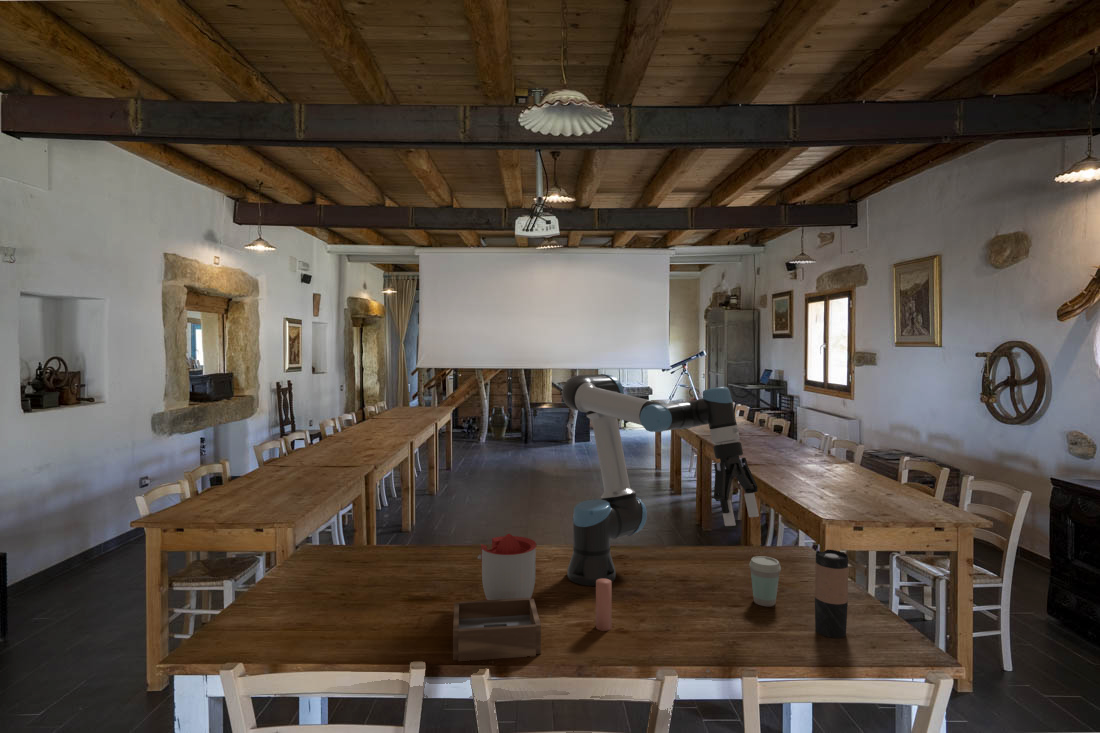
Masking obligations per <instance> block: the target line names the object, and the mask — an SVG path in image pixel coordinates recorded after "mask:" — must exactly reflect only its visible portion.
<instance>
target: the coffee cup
mask: <svg viewBox="0 0 1100 733" xmlns="http://www.w3.org/2000/svg"><path fill="white" fill-rule="evenodd" d="M748 566H749V568H750V577H751V587H752V597H753V603H755V604H756V605H759V606H762V607H774V606H775V605H776V603H777V602H776V600H777V595H778V587H779V580H780V572H781V570H782V567H781V564H780V561H779V560H778V559H776V558H774V557H770V556H764V555H763V556H761V555H760V556H759V555H757V556H752V557H751V560H750V562H749V564H748Z"/></svg>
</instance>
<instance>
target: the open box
mask: <svg viewBox="0 0 1100 733" xmlns="http://www.w3.org/2000/svg"><path fill="white" fill-rule="evenodd" d="M452 623H453V624H452V625H453V626H452V628H453V629H452V660H453V661H457V662H468V661H469V662H470V660H471V661H481V660H482V661H483V660H497V659H498V660H499V659H513V658H515V659H516V658H525V657H527V656H530V657H537V655H536V654H540V655H542V643H541V642H542V624H541V620H540V617H539V613H538V609H537V606H536V602H535V599H534V598H531V599H529V598H516V599H498V600H486V599H485V600H481V599H480V600H465V601H464V600H462V601H459V602H454V605H453V622H452ZM527 658H528V657H527Z"/></svg>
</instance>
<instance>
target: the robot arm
mask: <svg viewBox="0 0 1100 733" xmlns="http://www.w3.org/2000/svg"><path fill="white" fill-rule="evenodd" d="M731 394H732V393H731V391H730V389H729V388H728V387H727V386H717V387H713V388H708V389H705V390H703V391H702V398H698V399H695V400H690V401H680V402H667V403H663V402H659V401H658V402H657V401H653V400H650V399H647V398H646V399H645V398H641V397H638V396H633V395H628V394H625V391H624V386H623V384H622V382H621V380H620V379H618V378H617V377H616V376H614V375H612V374H604V373H601V374H580V375H579V374H578V375H575V376H572V377H570V378H569V379H568V380H567V381H566V382H565V383H564V384H563V387H562V390H561V395H562V400H563V402H564V404H565V405H566V406H567V407H568V408H570V409H571V410H575V411H578V412H581V413H585V415H586V418H588V419H590V421H591V424H592V428H593V429H592V430H593V433H594V440H595V445H596V450H597V456H598V462H599V467H600V474H601V479H602V485H603V490H604V491H603V493H602V495H601V496H600V499H599V498H595V499H587V500H583V501H581V502H579V503H577V504H576V505H575V506H574V509H573V515H572V516H573V517H572V526H573V527H572V528H573V532H572V533H573V534H572V537H573V538H572V540H573V543H572V545H573V547H572V548H573V549H572V550H573V551H572V554H571V558H570V561H569V564H568V567H567V578H568V580H569V581H571V582H573V583H575V584H577V585H581V586H591V587H596V580H597V579H602V578H604V579H609V580H611V582H612V583H613V582H614V581H615V580H616V575H617V574H616V567H615V565H614V561H613V558H612V555H611V541H612V540H617V539H619V538H623V537H626V536H627V537H628V536H629V537H630V536H632V535H635V534H637V533H639V532H641V531H642V530H643V528H644V526H646V523H647V517H648V512H647V507H646V504H645V503H644V502H643V501H642V499H640V498H639V497H637V493H636V491H635V490H634V489H633V488H631V484H630V480H629V475H628V471H627V465H626V458H625V454H624V447H623V443H622V436H621V432H620V426H619V420H622V421H626V422H628V423H632V424H636V425H638V426H639V425H640V426H642V427H643V428H644V429H645V430H646V431H648V432H651V433H654V432H655V433H662V432H665V431H673V430H686V429H691V428H696V427H700V426H705V425H708V427H709V433H710V438H711V443H712V444H714V446H713V452H714V458H715V459H717V460H720V462H714V464H713V465H714V466H713V467H714V490H713V491H714V492H713V499H714V500H715V501H716V502H719V503H720V507H721V512H722V516H723V523H724V526H725V527H732V526H736V524H737V523H736V519H735V515H734V514H735V513H734V508H733V506H732V500H731V499H729V498H730V492H731V487H732V481H733V479H736V480H737V482H738V483H739V485H740V486H741V488H742V489H743V491H744V492H745V493H743V494H744V495H743V496H744V500H745V505H746V509H747V514H748V518H757V517H759V516H760V514H759V509H758V504H757V498H756V496H755V495H756V494H755V493H758V491H759V490H758V484H757V482H756V480H755V477H754V476H753V474H752V472H751V469H750V467H749V466H748V462H747V458H746V457H740V456H743V454H744V451H743V450H744V449H743V445H742V442H740V441H739V440H740V439H741V438H740V434H739V432H740V429H739V428H738V422H737V419H736V414H735V407H734V403H733V402H734V400H733V398H732V395H731Z"/></svg>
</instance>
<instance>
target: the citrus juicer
mask: <svg viewBox="0 0 1100 733" xmlns="http://www.w3.org/2000/svg"><path fill="white" fill-rule="evenodd" d="M480 548H481V550H480V551H481V553H480V554H479V555H478V556H477V560H480V561H481V578H482V579H481V580H482V587H483V591H484V595H485V596H484V597H485V600H498V599H516V598H529V599H533V598H532V597H533V594H534V589H535V584H536V554H537V550H536V549H537V542H536V541H534V540H533V539H531V538H528V537H525V536H524V537H523V536H516V535H514V536H513V534H512V533H507V534H506V535H505V536H503V535H502V536H497V537H492V539H491V548H490V549H488V546H487V545H484V544H482V543H481V545H480Z"/></svg>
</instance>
